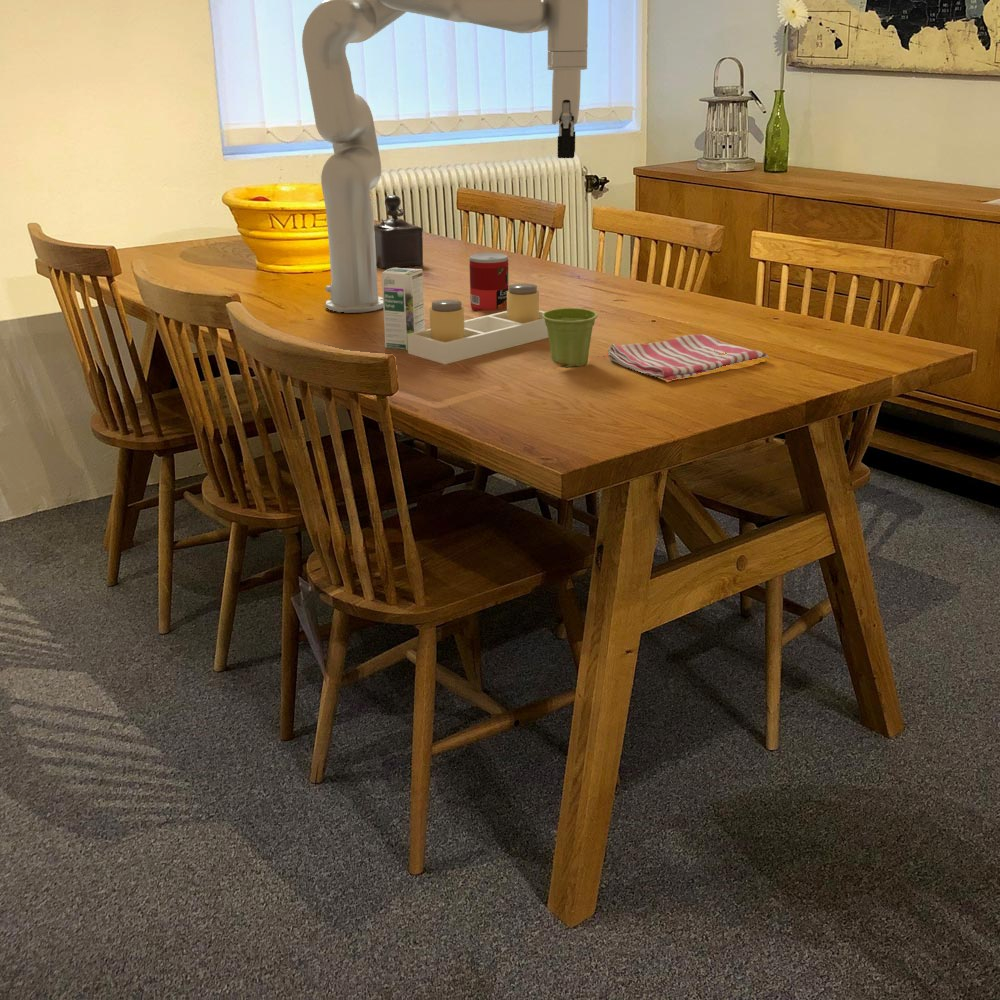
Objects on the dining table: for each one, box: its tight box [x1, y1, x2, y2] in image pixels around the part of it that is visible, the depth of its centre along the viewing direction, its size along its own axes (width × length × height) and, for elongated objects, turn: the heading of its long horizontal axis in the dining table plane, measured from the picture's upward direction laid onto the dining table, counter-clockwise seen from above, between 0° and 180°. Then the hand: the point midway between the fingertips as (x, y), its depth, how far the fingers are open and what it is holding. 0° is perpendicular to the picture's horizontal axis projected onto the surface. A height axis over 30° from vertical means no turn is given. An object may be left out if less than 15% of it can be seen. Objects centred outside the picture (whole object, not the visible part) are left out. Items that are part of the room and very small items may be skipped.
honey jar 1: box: [429, 299, 465, 342], centre depth 202 cm, size 6×6×9 cm
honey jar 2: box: [506, 282, 540, 323], centre depth 214 cm, size 6×6×9 cm
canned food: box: [468, 252, 509, 313], centre depth 236 cm, size 8×8×11 cm
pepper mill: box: [374, 194, 424, 270], centre depth 279 cm, size 16×11×18 cm
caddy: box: [407, 310, 549, 365], centre depth 209 cm, size 10×29×4 cm, turn 133°
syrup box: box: [381, 267, 426, 351], centre depth 207 cm, size 6×6×14 cm
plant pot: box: [542, 307, 598, 368], centre depth 198 cm, size 9×9×9 cm
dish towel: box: [607, 333, 769, 380], centre depth 199 cm, size 17×23×4 cm
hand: (566, 155), depth 224 cm, fingers open, 9 cm apart
